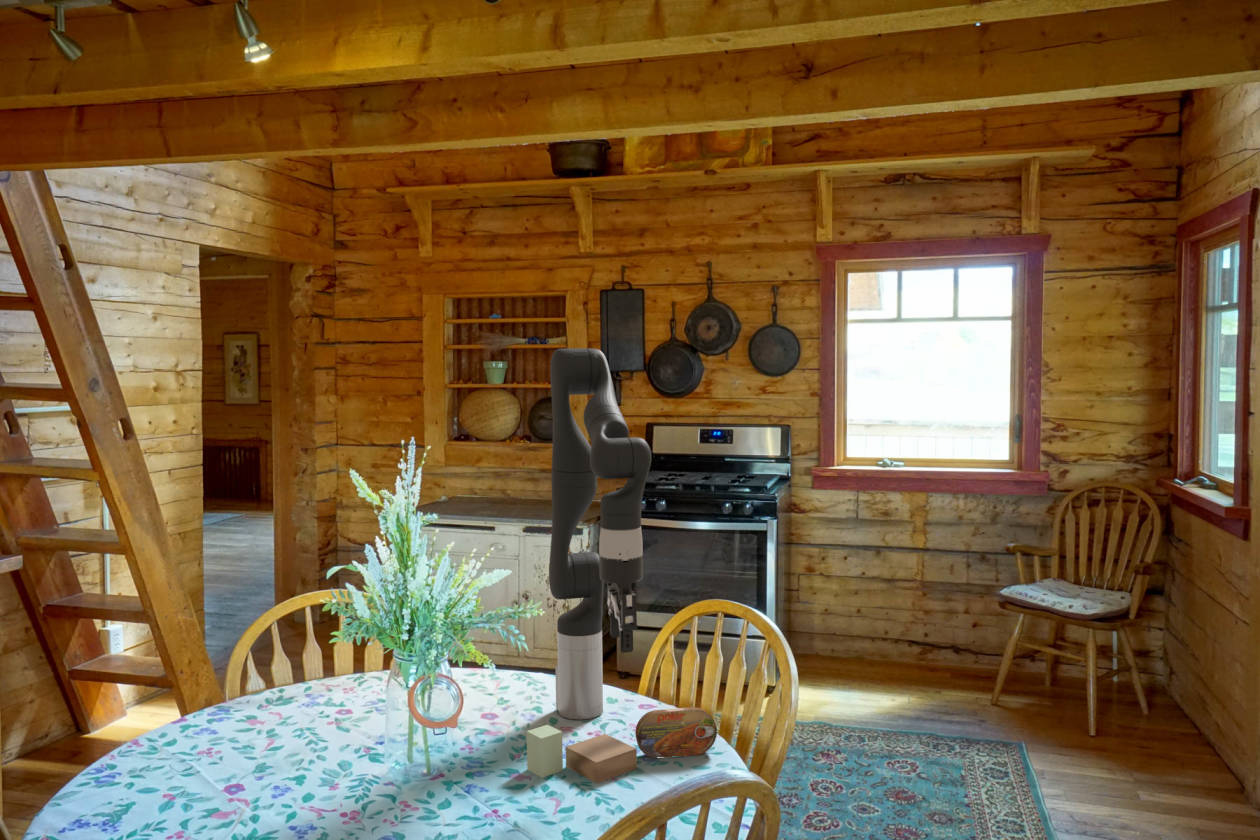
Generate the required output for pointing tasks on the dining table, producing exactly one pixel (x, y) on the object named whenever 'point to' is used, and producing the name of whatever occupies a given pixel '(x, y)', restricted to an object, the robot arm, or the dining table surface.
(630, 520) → the robot arm
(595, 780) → the walnut base
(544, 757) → the sage block
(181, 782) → the dining table surface
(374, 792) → the dining table surface
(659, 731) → the tin
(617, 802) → the dining table surface
